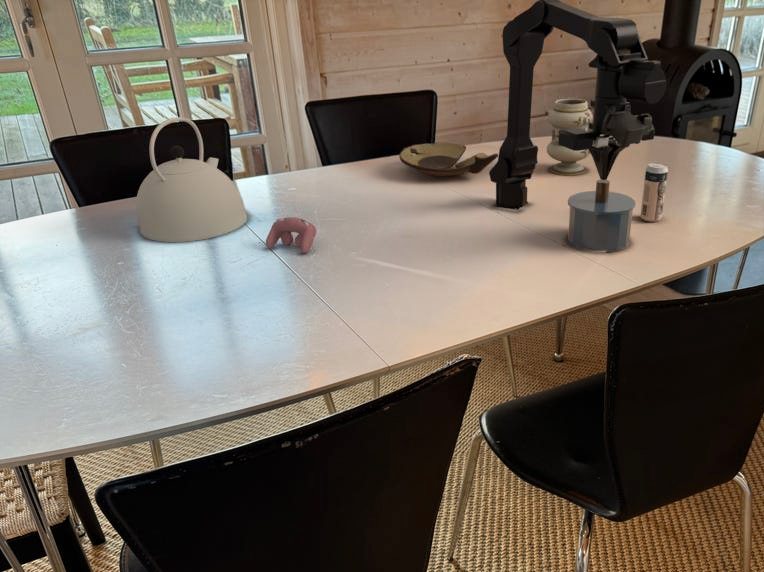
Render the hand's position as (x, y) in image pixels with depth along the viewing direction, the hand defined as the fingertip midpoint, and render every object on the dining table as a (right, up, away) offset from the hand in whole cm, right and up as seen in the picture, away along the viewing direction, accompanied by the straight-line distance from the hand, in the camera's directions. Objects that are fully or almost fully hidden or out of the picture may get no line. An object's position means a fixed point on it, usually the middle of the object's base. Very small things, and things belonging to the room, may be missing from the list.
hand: (603, 179), depth 131 cm
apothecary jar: (0, +16, +51) cm, 54 cm away
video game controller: (-63, -12, +6) cm, 64 cm away
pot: (0, -11, +7) cm, 13 cm away
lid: (0, -4, +3) cm, 5 cm away
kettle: (-89, -4, +20) cm, 91 cm away
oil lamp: (-33, +15, +49) cm, 61 cm away
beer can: (+14, -4, +18) cm, 23 cm away
